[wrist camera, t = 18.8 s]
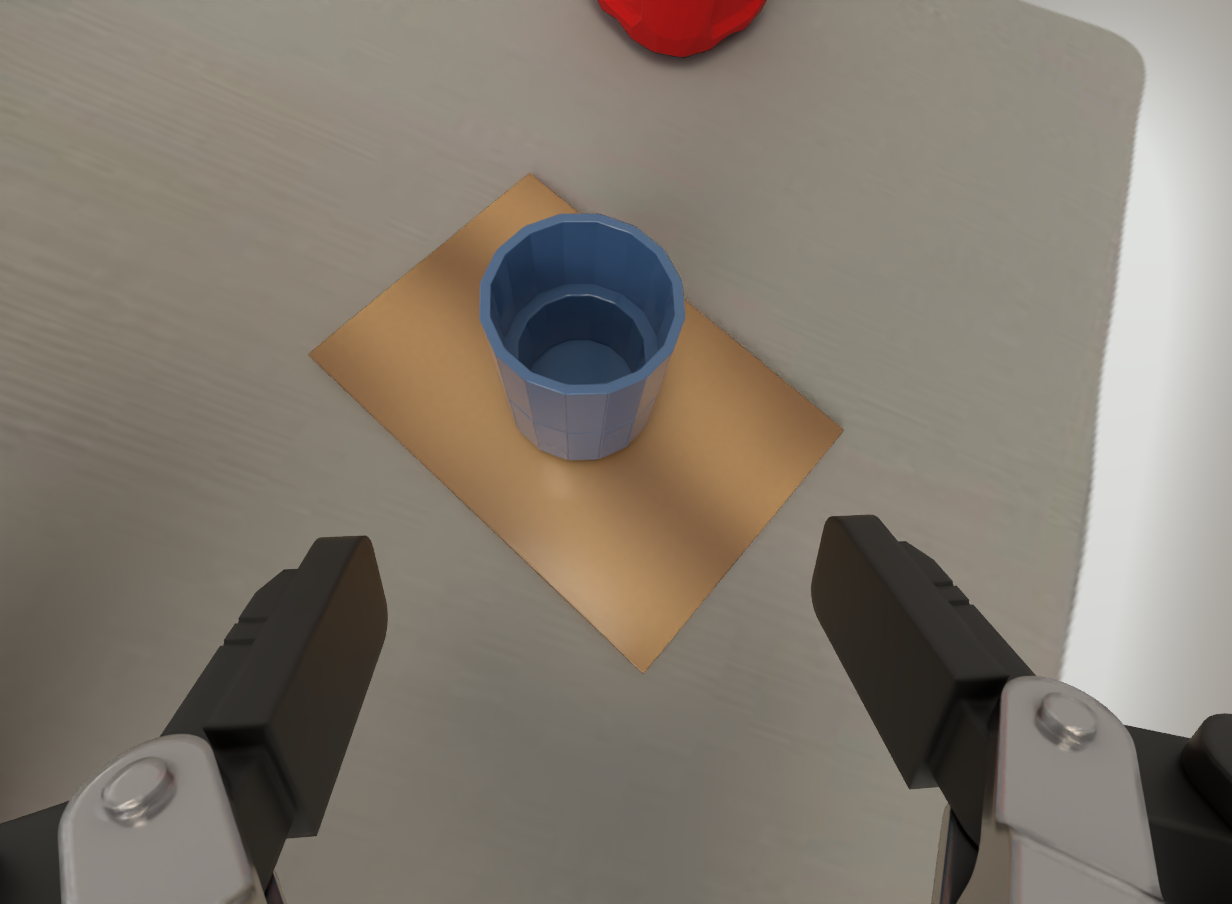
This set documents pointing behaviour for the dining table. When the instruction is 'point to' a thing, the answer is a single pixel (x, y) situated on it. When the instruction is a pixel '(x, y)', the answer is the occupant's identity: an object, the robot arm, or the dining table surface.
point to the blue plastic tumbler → (581, 331)
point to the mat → (583, 489)
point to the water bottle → (682, 22)
